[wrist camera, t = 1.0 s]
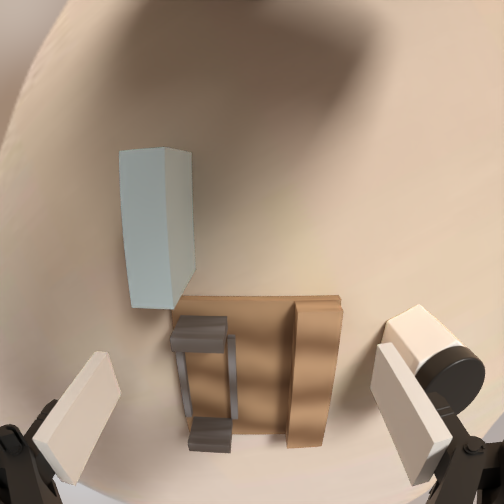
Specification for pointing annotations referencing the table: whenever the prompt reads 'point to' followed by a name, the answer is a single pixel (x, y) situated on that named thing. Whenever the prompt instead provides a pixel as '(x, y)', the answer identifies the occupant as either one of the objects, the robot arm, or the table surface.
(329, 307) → the brown piece
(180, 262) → the door
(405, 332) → the jar
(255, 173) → the table surface
